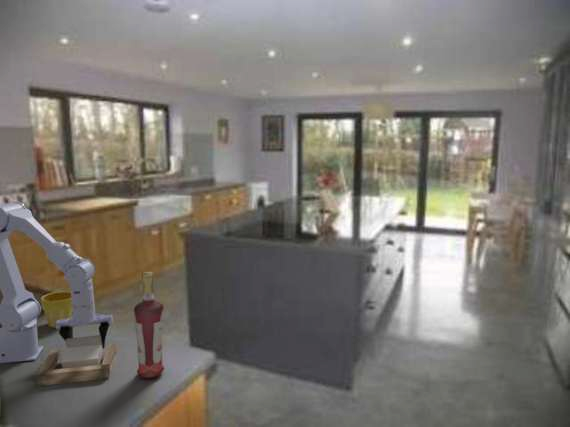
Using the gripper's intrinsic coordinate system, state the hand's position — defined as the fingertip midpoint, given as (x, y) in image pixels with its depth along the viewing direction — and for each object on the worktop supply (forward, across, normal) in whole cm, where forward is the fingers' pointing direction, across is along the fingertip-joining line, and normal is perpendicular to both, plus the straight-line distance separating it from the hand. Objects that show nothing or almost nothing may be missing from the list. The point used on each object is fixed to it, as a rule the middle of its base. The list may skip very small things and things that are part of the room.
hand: (87, 349), depth 123 cm
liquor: (+3, +18, -13) cm, 23 cm away
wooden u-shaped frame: (+2, -1, -6) cm, 7 cm away
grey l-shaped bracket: (+2, 0, -4) cm, 5 cm away
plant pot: (+2, -14, +27) cm, 30 cm away
